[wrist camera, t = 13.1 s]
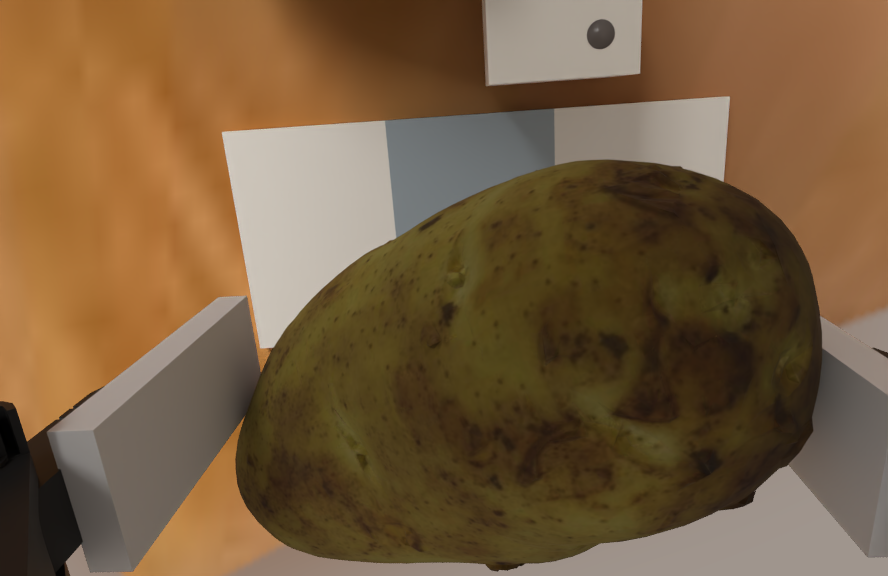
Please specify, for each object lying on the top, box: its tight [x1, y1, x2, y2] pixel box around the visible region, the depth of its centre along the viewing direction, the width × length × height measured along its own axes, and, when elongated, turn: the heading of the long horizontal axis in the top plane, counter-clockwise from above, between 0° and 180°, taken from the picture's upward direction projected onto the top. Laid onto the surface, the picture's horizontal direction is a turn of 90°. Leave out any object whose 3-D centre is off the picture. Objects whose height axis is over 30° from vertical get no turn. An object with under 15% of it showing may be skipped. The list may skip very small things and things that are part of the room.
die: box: [482, 0, 642, 86], centre depth 21 cm, size 5×5×5 cm
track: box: [222, 96, 730, 348], centre depth 26 cm, size 10×21×1 cm, turn 94°
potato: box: [236, 159, 822, 571], centre depth 13 cm, size 8×13×8 cm, turn 105°
